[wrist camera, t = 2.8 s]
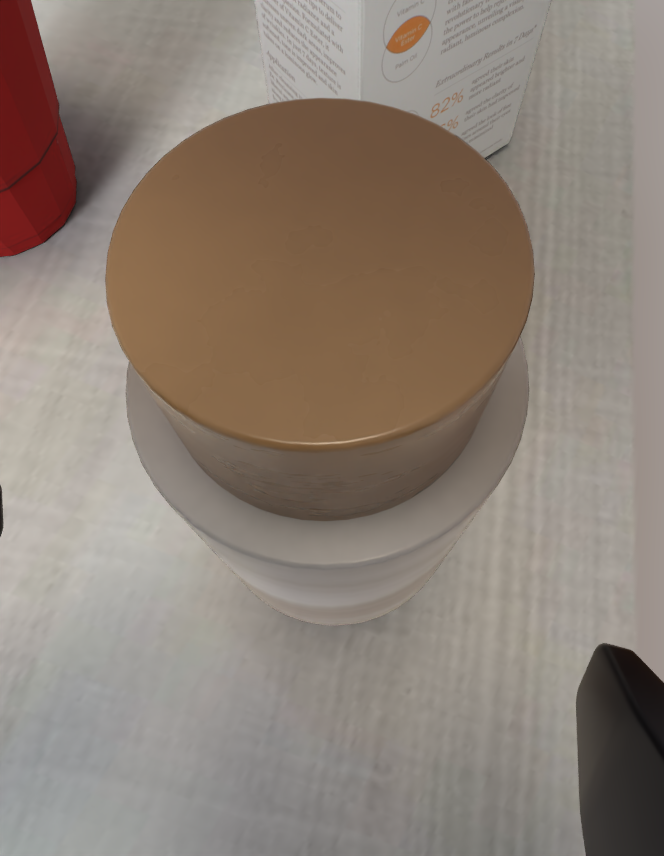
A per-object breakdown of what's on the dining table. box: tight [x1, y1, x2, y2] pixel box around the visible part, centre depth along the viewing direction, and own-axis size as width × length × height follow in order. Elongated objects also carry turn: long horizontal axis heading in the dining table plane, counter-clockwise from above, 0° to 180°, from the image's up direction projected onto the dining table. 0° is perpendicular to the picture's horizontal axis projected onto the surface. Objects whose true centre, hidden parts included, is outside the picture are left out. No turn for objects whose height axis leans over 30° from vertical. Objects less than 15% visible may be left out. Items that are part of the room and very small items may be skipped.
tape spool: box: [105, 98, 535, 626], centre depth 13 cm, size 6×6×14 cm
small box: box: [254, 0, 551, 158], centre depth 21 cm, size 8×6×10 cm
